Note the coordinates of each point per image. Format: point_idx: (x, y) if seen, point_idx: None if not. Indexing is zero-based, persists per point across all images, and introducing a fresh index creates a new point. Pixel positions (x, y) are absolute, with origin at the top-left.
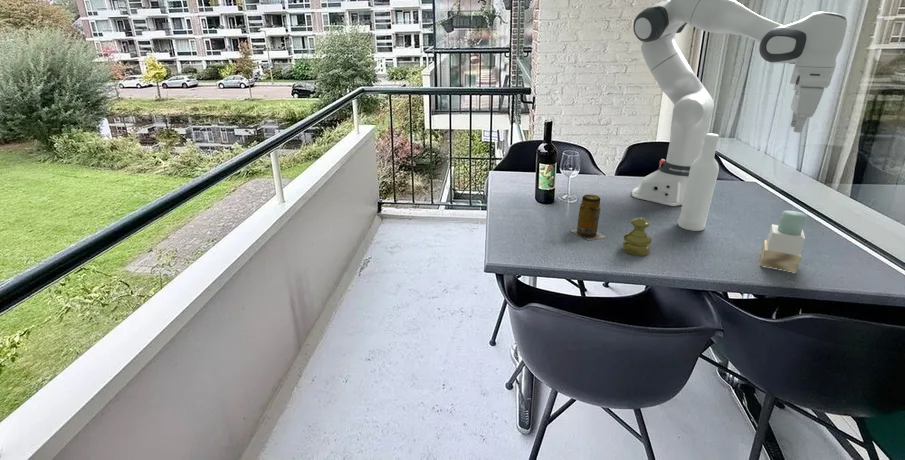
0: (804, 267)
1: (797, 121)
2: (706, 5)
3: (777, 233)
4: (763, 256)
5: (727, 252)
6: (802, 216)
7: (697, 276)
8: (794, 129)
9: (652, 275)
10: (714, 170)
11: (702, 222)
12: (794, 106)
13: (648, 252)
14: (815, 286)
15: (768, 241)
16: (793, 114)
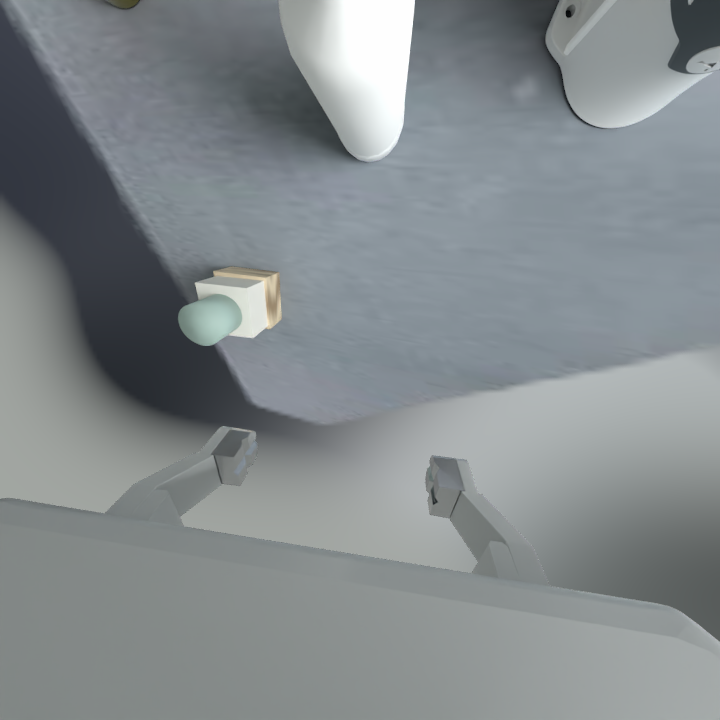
0: (270, 329)
1: (153, 478)
2: None
3: (197, 290)
4: (220, 269)
5: (256, 213)
6: (192, 336)
7: (109, 150)
8: (215, 434)
9: (35, 43)
10: (301, 68)
11: (344, 145)
12: (280, 615)
13: (115, 5)
14: None
15: (230, 279)
16: (498, 538)
